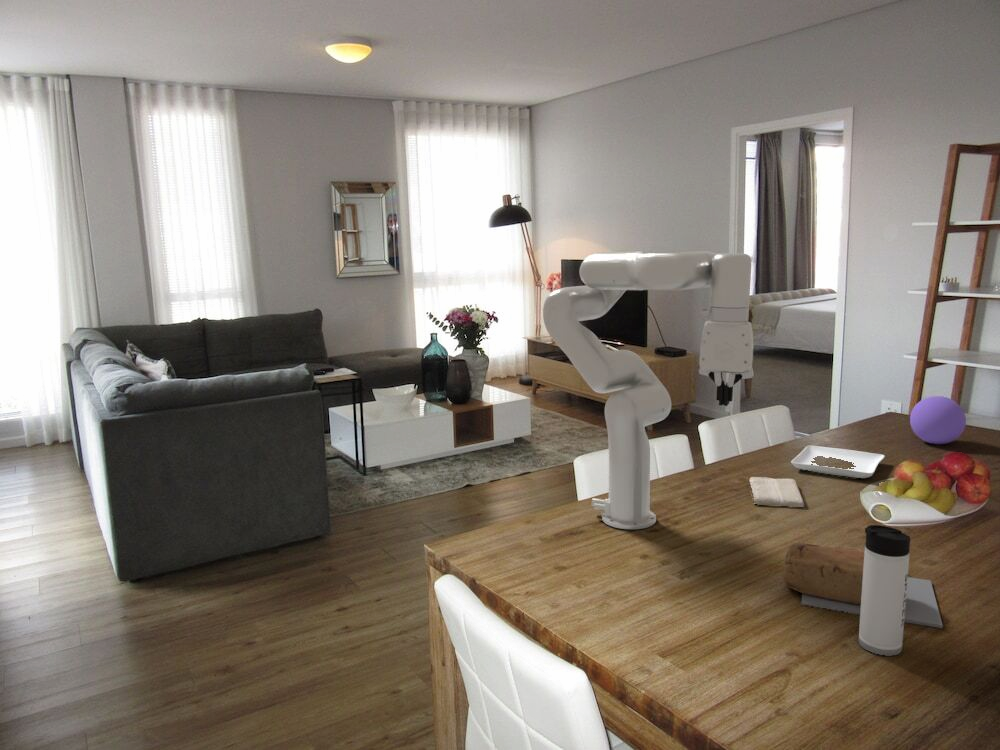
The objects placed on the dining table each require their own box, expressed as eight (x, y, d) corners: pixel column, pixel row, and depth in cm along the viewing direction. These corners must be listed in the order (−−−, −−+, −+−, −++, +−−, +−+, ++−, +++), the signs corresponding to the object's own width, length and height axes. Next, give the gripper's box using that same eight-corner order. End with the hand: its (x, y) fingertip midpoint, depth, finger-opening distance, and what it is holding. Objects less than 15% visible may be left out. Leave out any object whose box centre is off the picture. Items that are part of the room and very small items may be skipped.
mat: (801, 604, 133) (801, 602, 133) (805, 564, 150) (805, 562, 150) (942, 628, 125) (942, 625, 125) (930, 582, 141) (930, 580, 141)
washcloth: (794, 486, 197) (794, 475, 197) (805, 510, 180) (806, 498, 180) (747, 484, 200) (747, 473, 199) (754, 508, 183) (754, 496, 182)
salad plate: (807, 454, 225) (807, 443, 225) (884, 464, 213) (885, 453, 213) (789, 473, 208) (789, 461, 208) (872, 485, 196) (873, 473, 196)
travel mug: (848, 637, 122) (856, 522, 119) (886, 634, 123) (895, 520, 119) (870, 658, 116) (878, 537, 113) (910, 655, 117) (920, 535, 113)
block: (780, 592, 137) (903, 617, 128) (783, 553, 136) (908, 576, 127) (788, 570, 146) (903, 592, 137) (791, 534, 145) (907, 554, 136)
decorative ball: (959, 439, 236) (964, 393, 234) (967, 452, 223) (971, 403, 220) (906, 435, 243) (909, 390, 240) (910, 447, 229) (914, 399, 226)
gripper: (687, 315, 149) (683, 404, 153) (765, 319, 143) (759, 412, 146) (695, 311, 156) (691, 397, 159) (770, 315, 149) (764, 404, 153)
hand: (724, 404), depth 153 cm, fingers closed
